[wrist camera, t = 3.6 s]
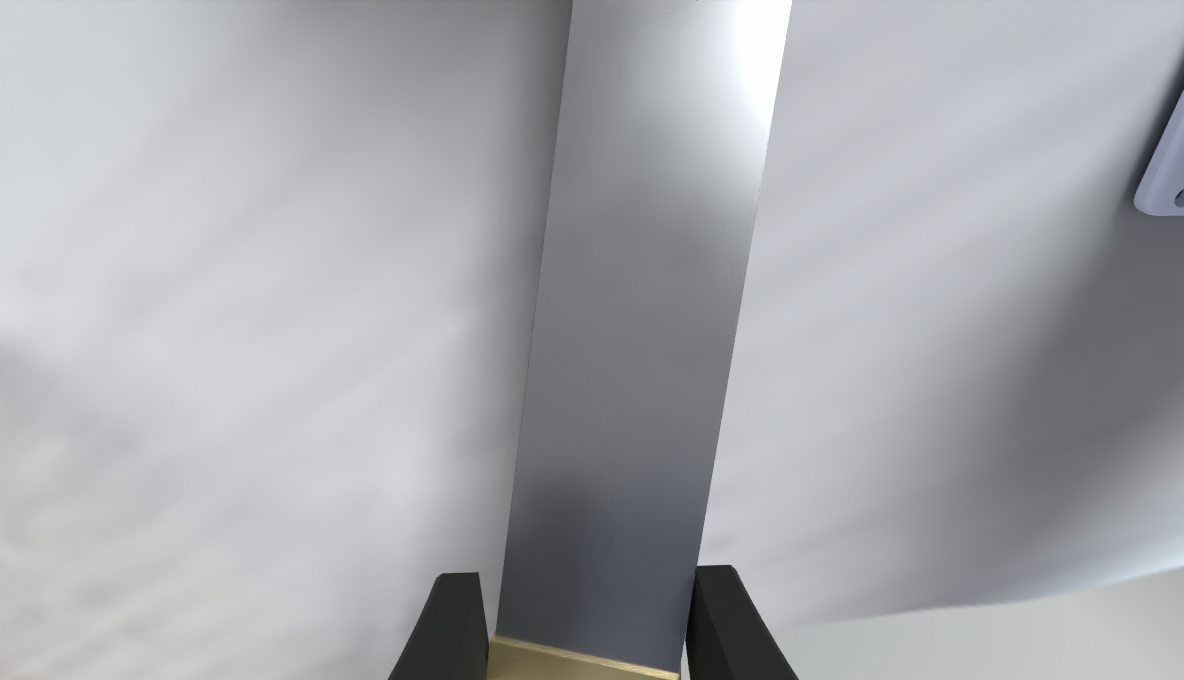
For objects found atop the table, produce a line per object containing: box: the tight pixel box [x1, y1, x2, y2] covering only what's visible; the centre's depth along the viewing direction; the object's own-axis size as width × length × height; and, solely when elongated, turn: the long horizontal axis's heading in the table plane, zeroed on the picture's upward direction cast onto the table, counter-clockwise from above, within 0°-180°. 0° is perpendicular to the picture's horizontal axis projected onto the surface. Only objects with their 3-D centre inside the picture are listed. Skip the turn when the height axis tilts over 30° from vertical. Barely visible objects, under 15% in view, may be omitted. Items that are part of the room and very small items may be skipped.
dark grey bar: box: [486, 0, 792, 680], centre depth 11 cm, size 3×16×4 cm, turn 171°
